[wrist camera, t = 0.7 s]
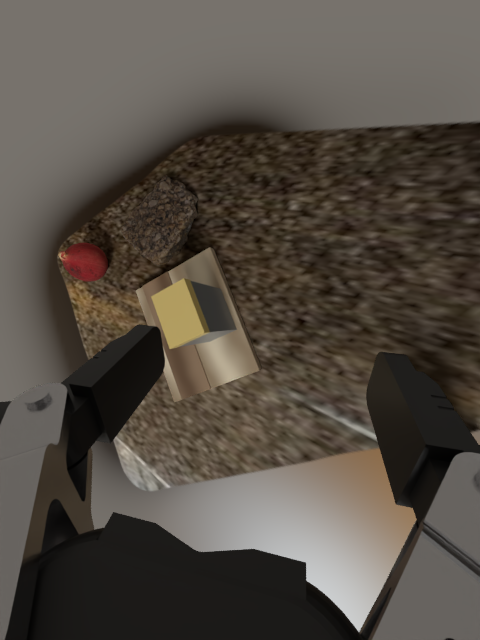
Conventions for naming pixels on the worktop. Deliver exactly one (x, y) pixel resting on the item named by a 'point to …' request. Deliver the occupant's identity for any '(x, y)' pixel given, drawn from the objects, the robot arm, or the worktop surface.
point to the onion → (85, 261)
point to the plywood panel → (210, 357)
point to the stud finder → (192, 313)
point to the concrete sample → (161, 221)
